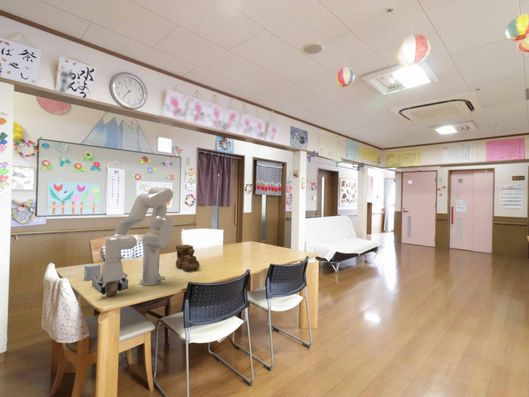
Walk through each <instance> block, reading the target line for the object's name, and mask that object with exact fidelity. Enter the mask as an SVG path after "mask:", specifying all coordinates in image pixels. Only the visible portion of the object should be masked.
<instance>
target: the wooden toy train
mask: <svg viewBox="0 0 529 397" xmlns="http://www.w3.org/2000/svg"><path fill="white" fill-rule="evenodd" d="M175 250H176V258H177V260H176V259H175V260H176V261H175V267H176V268H177V269H181V268H182V269H183V271H184V272H188V271H189V270H196V269H197V270H198V269H200V261H198V260H197V256H195V255H194V254H195V250H194V246H193V245H190V244H179V245H175Z"/></svg>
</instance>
